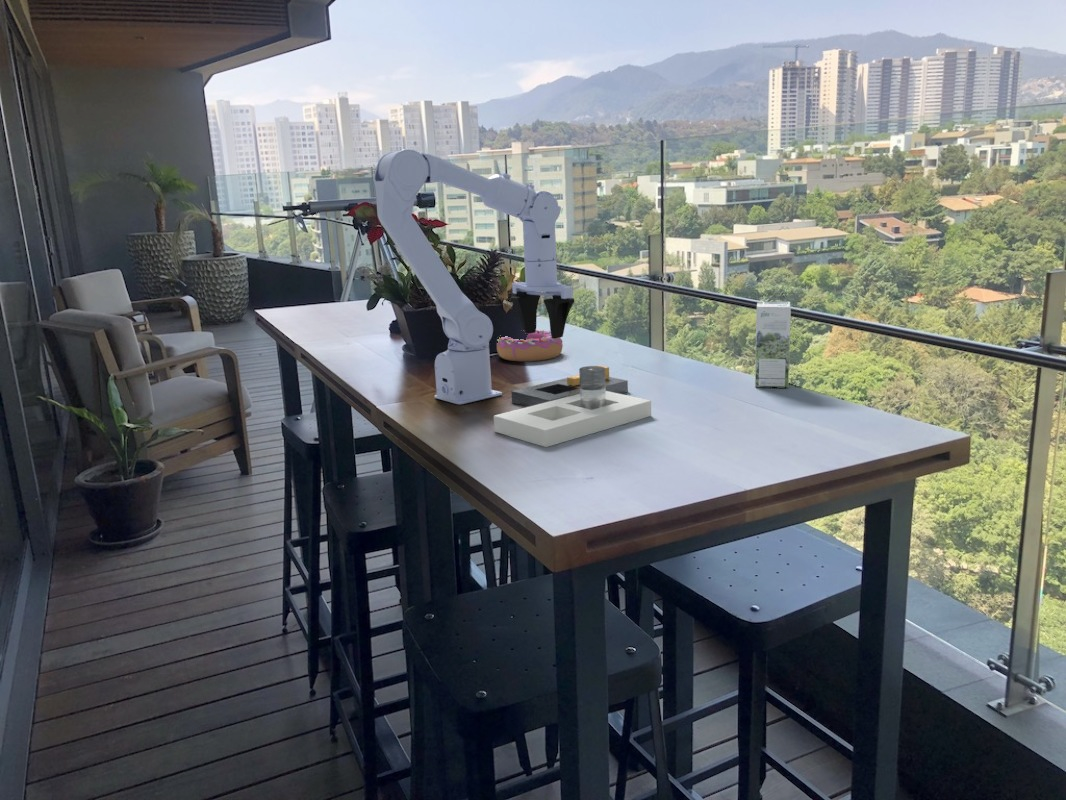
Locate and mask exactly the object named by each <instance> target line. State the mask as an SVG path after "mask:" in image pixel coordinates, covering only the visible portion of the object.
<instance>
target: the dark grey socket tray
mask: <svg viewBox="0 0 1066 800" xmlns="http://www.w3.org/2000/svg"><path fill="white" fill-rule="evenodd" d="M628 382H629V381H628V380H627V379H621V378H617V377H610V376H609V378H608V379H605V388H606V391H609V392H614V393H618V394H624V393H628V392H629V387H628V385H629V383H628ZM577 394H580V385H576V386H573V385H568V384H567V377H565V378H560V379H556V380H552V381H548V382H543V383H540V384H536V385H531V386H528V387H523V388H519V389H514V390H511V403H513V404H516V405H521V406H524V407H530V406H533V405H537V404H541V403H545V402H549V401H553V400H557V399H561V398H565V397H569V396H573V395H577Z"/></svg>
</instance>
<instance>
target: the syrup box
mask: <svg viewBox="0 0 1066 800" xmlns="http://www.w3.org/2000/svg"><path fill="white" fill-rule="evenodd" d="M791 307H792V306H791V302H790V301H758V302H757V303H756V315H755V322H756V323H755V364H754V365H755V372H754V373H755V374H754V386H755V388H769V389H773V388H772V387H777V389H786V388H785V387H788V388H789V377H790V376H789V375H790V373H789V371H790V344H791V315H792V311H791V310H792V308H791ZM770 387H771V388H770Z"/></svg>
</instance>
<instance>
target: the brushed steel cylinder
mask: <svg viewBox="0 0 1066 800" xmlns="http://www.w3.org/2000/svg"><path fill="white" fill-rule="evenodd" d="M601 366H602V365H599V366H596V365H589V366H582V367H580V368H579V369H578V370H579V371H578V373H579V374H578V375H580V406H581V407H582V408H586V409H590V410H594V409H597V408H601V407H604V406H606V388H605V368H604V367H601Z"/></svg>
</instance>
